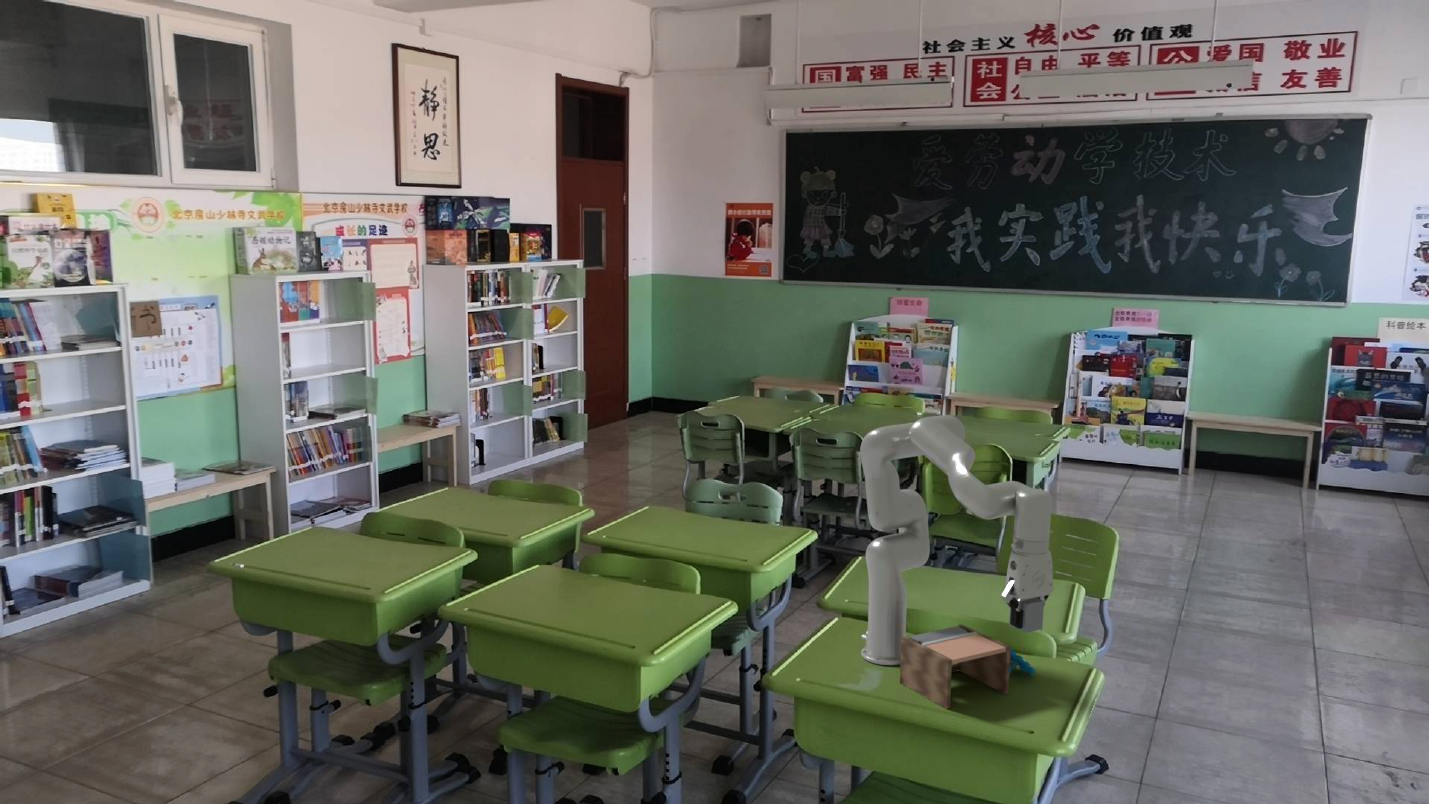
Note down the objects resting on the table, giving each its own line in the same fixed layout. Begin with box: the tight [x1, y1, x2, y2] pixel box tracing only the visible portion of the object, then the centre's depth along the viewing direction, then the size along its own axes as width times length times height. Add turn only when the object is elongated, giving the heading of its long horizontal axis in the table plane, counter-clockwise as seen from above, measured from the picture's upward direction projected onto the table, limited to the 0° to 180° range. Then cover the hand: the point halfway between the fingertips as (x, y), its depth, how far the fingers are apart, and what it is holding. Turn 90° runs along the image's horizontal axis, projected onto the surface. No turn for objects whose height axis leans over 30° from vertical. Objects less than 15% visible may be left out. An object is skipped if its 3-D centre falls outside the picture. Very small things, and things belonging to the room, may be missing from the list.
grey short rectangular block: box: [1008, 598, 1045, 634], centre depth 233 cm, size 5×5×6 cm
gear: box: [1009, 648, 1036, 676], centre depth 259 cm, size 11×6×10 cm
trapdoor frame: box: [899, 624, 1012, 710], centre depth 250 cm, size 17×19×12 cm
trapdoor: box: [908, 625, 1006, 665], centre depth 249 cm, size 16×16×4 cm
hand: (1025, 623), depth 234 cm, fingers closed on grey short rectangular block, 5 cm apart
